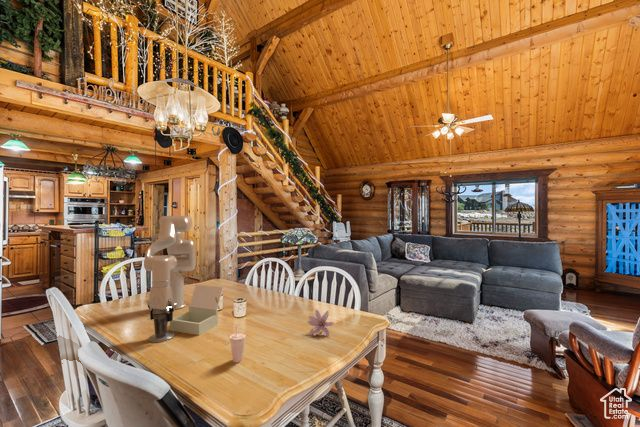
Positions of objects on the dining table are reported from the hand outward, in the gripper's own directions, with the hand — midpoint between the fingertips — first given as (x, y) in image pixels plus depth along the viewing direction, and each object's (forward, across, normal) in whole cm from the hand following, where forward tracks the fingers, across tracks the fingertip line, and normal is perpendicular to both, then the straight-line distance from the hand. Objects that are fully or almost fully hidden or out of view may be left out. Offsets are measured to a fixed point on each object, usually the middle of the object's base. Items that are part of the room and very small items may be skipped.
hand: (161, 319), depth 142 cm
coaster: (+8, 0, 0) cm, 8 cm away
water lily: (+9, +70, +28) cm, 76 cm away
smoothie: (+9, +47, -7) cm, 48 cm away
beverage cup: (+8, 0, 0) cm, 8 cm away
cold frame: (+8, +6, +17) cm, 20 cm away
